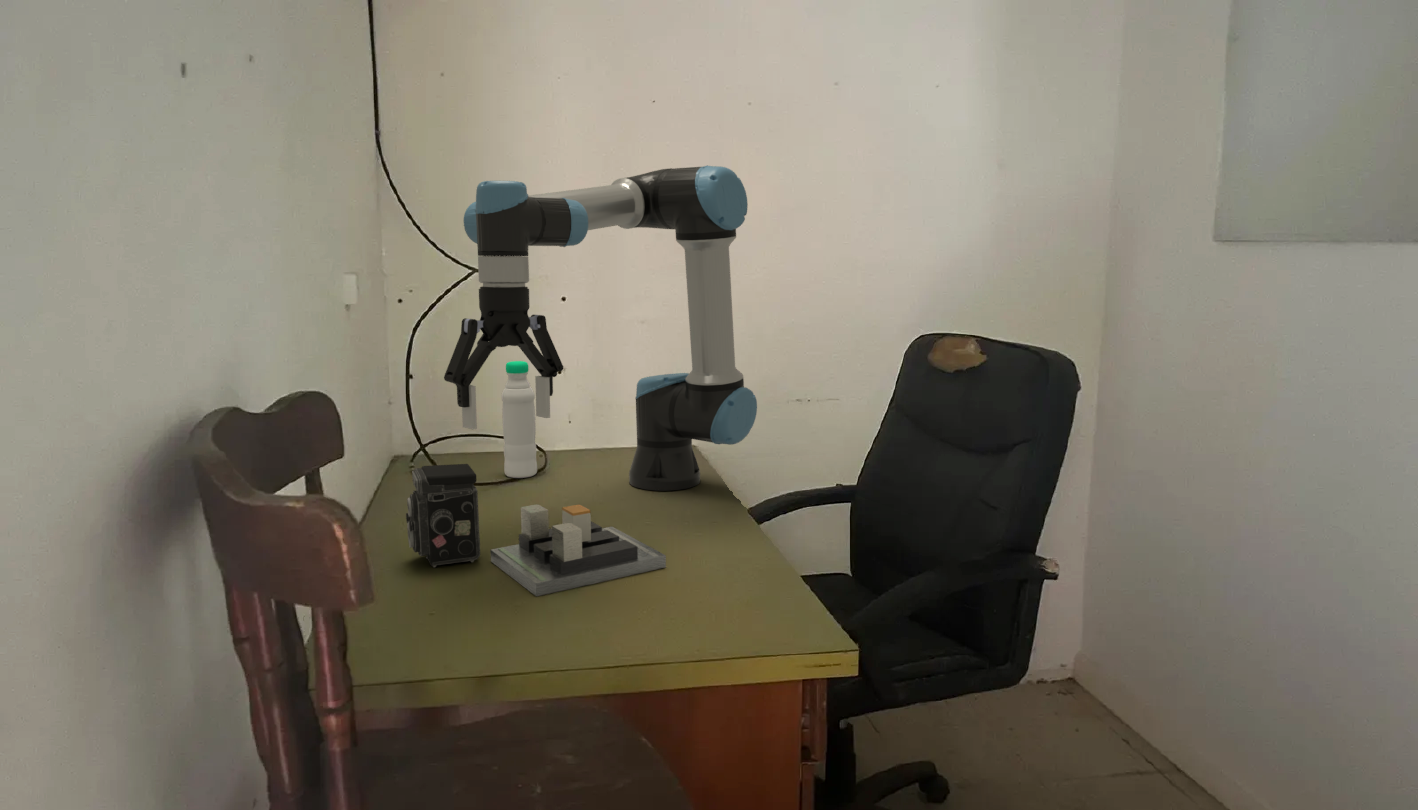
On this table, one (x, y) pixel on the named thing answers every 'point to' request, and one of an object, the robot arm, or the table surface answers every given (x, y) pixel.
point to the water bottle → (519, 422)
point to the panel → (573, 577)
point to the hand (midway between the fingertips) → (507, 422)
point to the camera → (444, 514)
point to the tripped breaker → (578, 519)
